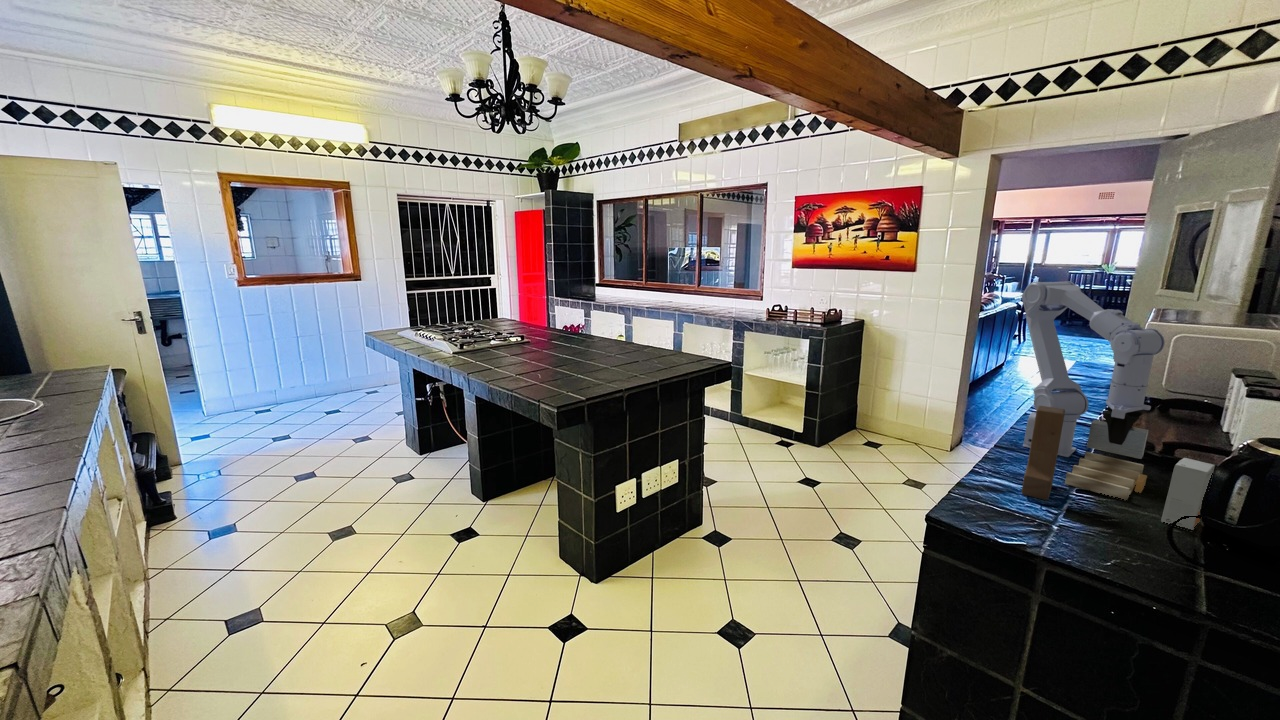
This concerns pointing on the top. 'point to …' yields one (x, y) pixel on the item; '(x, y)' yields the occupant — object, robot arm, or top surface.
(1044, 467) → the wooden block
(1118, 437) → the robot arm
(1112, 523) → the top surface
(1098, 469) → the rack
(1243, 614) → the top surface
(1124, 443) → the panel
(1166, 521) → the skincare box
